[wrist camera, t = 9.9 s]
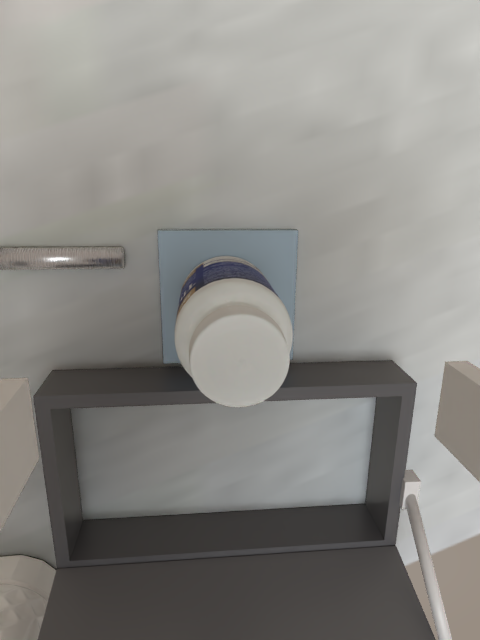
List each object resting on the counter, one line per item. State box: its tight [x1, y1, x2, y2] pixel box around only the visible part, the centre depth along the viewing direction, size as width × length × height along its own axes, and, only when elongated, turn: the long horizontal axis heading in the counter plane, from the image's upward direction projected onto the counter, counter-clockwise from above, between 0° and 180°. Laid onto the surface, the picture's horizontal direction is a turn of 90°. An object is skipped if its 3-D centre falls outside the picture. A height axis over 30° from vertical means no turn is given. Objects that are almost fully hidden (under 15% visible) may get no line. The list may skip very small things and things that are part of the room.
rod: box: [0, 247, 125, 270], centre depth 25 cm, size 8×1×1 cm, turn 90°
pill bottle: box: [175, 256, 293, 407], centre depth 22 cm, size 5×5×10 cm
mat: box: [158, 229, 298, 363], centre depth 27 cm, size 8×8×1 cm
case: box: [33, 360, 452, 640], centre depth 24 cm, size 22×15×14 cm, turn 90°
